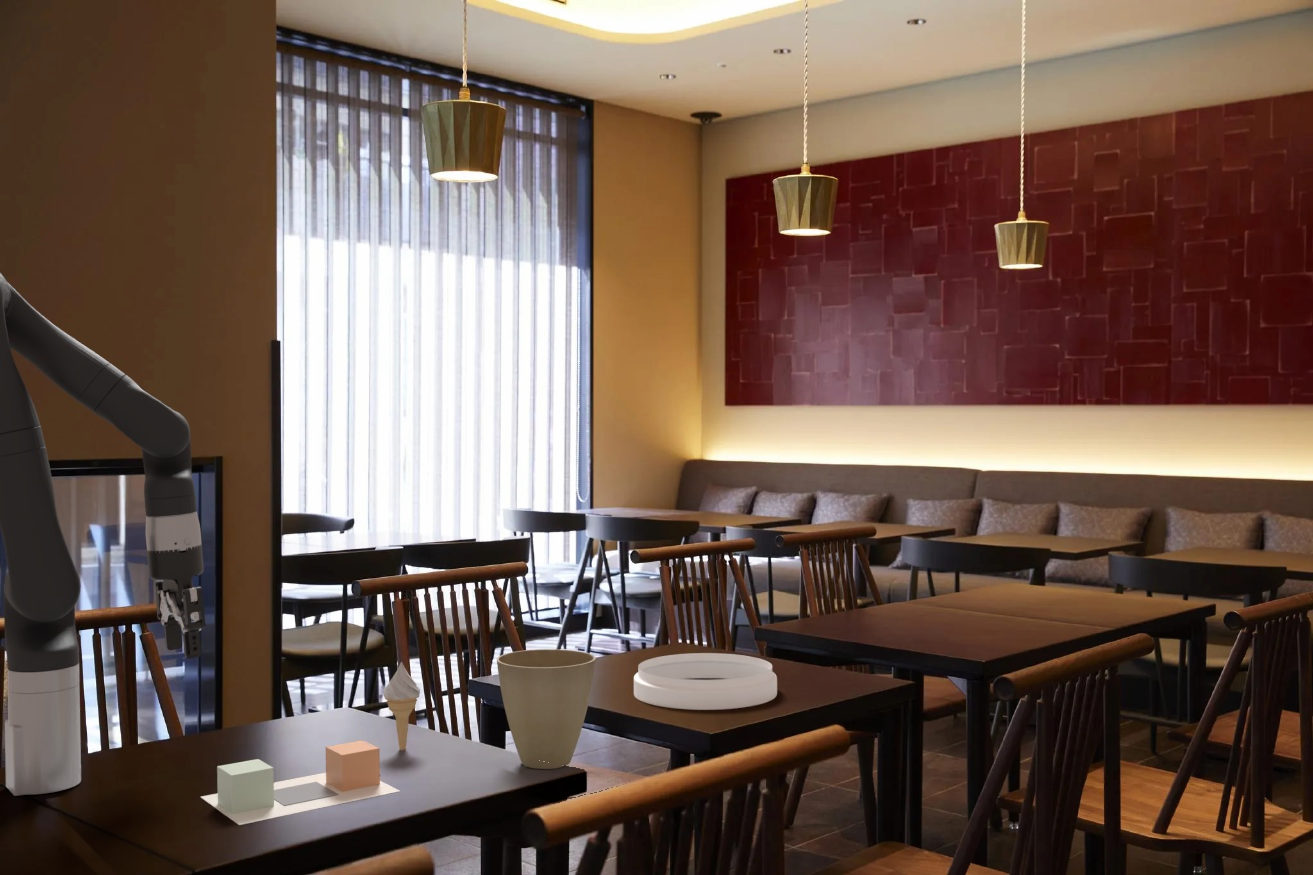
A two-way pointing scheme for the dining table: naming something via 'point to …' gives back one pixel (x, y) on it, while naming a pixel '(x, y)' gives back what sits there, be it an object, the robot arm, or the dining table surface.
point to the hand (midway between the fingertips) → (183, 653)
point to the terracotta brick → (352, 765)
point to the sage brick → (245, 786)
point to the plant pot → (546, 702)
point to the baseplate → (302, 798)
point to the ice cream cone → (401, 701)
